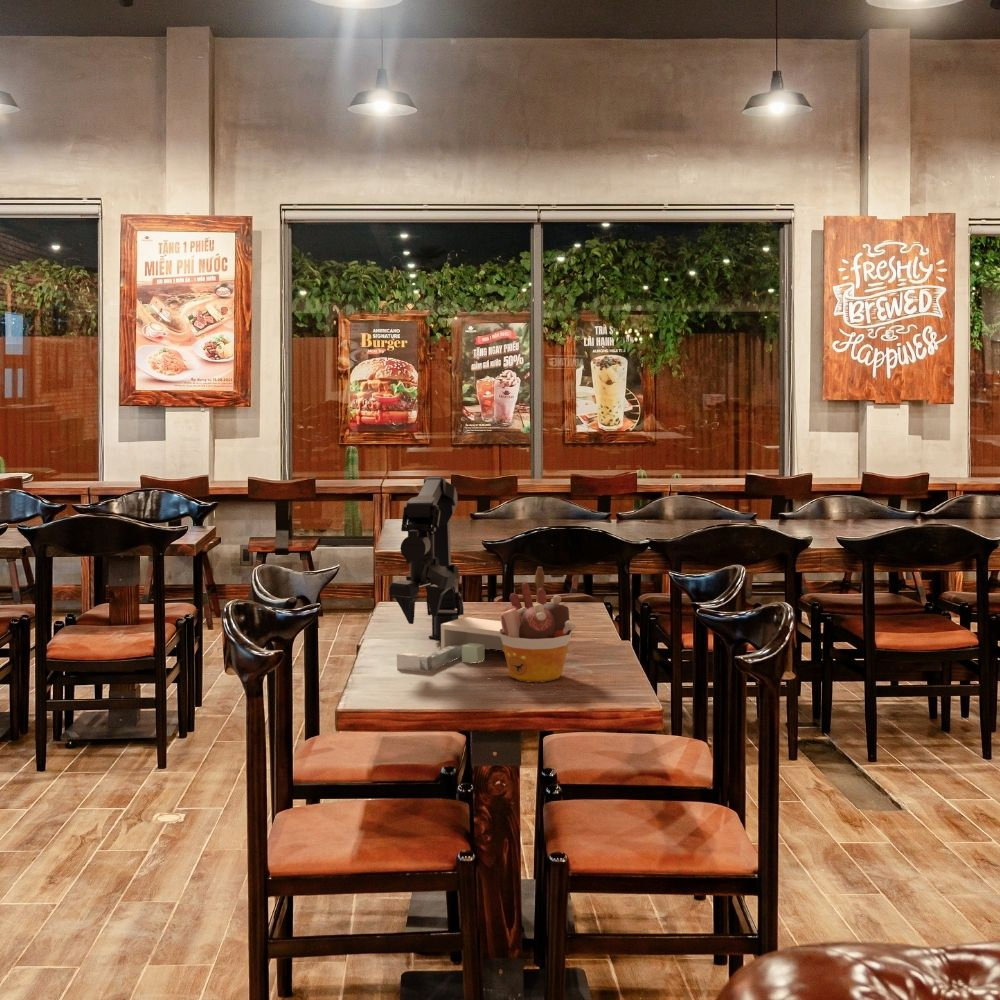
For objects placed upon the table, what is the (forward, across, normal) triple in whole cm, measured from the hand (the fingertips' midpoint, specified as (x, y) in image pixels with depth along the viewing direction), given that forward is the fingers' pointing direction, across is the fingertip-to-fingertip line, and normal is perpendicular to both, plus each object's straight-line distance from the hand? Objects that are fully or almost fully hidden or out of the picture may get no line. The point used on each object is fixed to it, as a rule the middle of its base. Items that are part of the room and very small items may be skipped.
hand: (423, 620), depth 268 cm
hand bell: (+12, +55, +1) cm, 56 cm away
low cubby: (+11, +17, -7) cm, 21 cm away
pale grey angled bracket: (+11, +3, -3) cm, 11 cm away
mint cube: (+11, +8, -8) cm, 16 cm away
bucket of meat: (+11, +3, -28) cm, 30 cm away
